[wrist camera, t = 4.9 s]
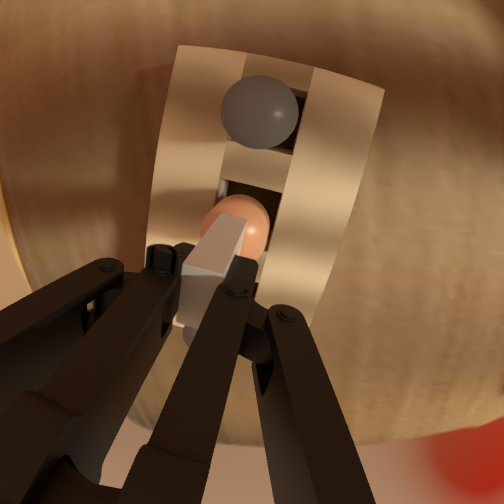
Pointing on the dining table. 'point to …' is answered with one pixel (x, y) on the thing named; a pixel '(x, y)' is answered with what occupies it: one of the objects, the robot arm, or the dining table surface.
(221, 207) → the terracotta plug
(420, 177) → the dining table surface
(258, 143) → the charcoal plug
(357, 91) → the panel
